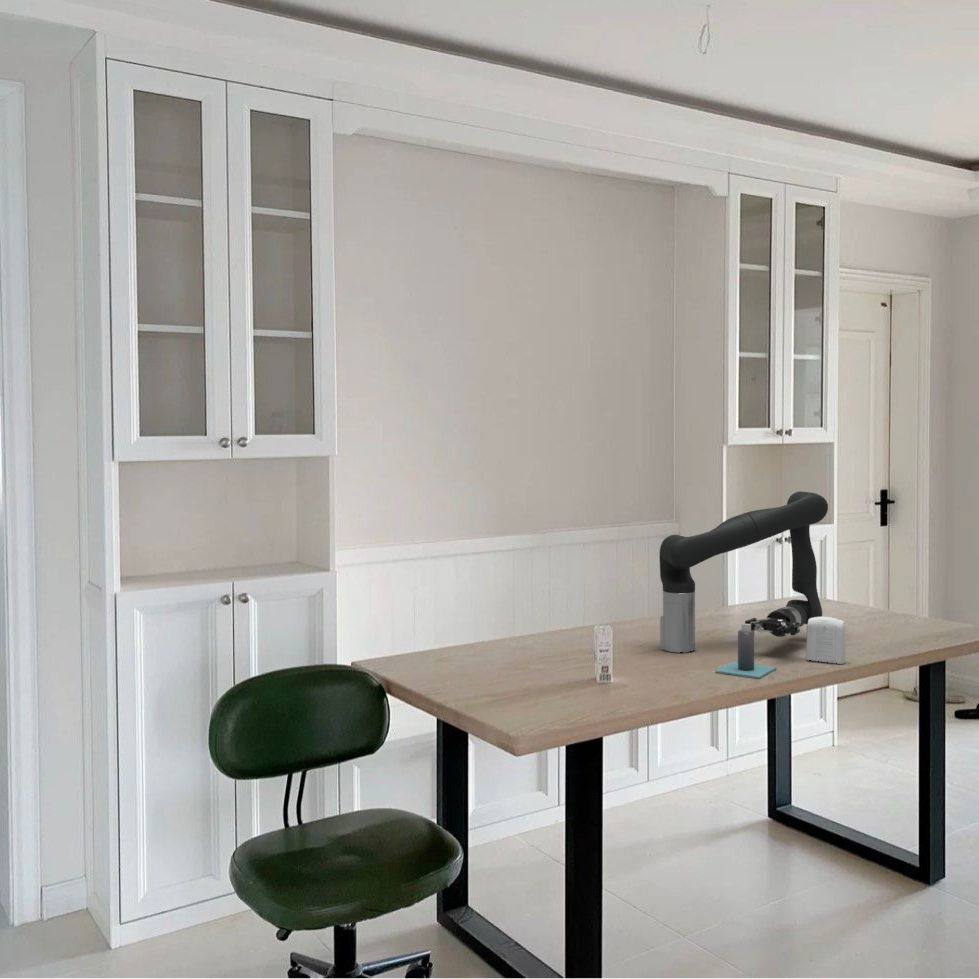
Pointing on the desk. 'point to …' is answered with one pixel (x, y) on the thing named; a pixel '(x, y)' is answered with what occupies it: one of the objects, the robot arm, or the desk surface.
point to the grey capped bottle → (746, 648)
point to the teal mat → (756, 673)
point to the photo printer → (826, 640)
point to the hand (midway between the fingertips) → (762, 631)
